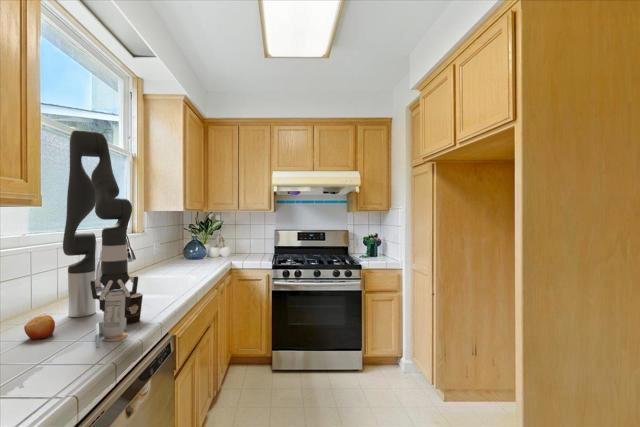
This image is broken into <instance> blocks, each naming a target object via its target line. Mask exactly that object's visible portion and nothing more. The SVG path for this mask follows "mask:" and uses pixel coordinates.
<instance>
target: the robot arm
mask: <svg viewBox="0 0 640 427" xmlns="http://www.w3.org/2000/svg"><path fill="white" fill-rule="evenodd" d="M83 157H86V158H87V157H88V158H89V157H90V158H91V157H92V158H98V159H99V161H98V162H97V164H96V166H95V167H94V169H93V170H92V173H91V176H89V174H88V173H87V172H86V169H85V168H84V166H83V161H82V160H83V159H82V158H83ZM113 171H114V170H113V165H112V159H111V154H110V149H109V143H108V139H107V137H106V136H105V134H104V133H102V132H100V131H91V130H82V129H74V130H72V131H71V133H70V136H69V174H68V175H69V176H68V185H67V196H66V218H65V226H64V233H63V239H62V251H63V253H64V255H65V256H68V257H69V256H71V257H72V256H84V257H83V258H82V259H81V260H79V261H77V262H75V263H72V264H70V265H68V267H67V282H68V283H67V288H68V289H67V290H68V291H67V294H68V295H67V296H68V304H67V305H68V317H70V318H81V317H88V316H91V315H94V314H96V313H97V312H96V311H97V310H96V309H97V301H99V311H101V312H102V313H104V311H105V300H104V299H105V295H106V294H107V292H108V290H114V289H122V290H123V291H124V293H125V294H126V298H125V307H126V308H128V306H130V297H131V296H132V295H134V294H136V293H138V285H139V284H138V283H139V276H138V275H129V271H128V269H129V268H128V261H129V260H128V257H129V254H128V247H127V231H128V228H129V227H128V226H129V222H130V219H131V216H132V213H133V205H132V203H131V201H130V200H129V199H128V198H123V197H120V198H118V196H119V195H120V187H119V186H118V182H117V180H116V177H115V175H114V172H113ZM93 210H94V212H95V215H96V216H97V217H98V219H100V220H103V221H105V220H106V221H108V220H113V221H114V220H117V222H116V223H115V224H114V225H111V226H108V227H104V228H102V231H101V249H100V250H101V251H100V261H101V262H100V263H101V264H100V268H101V269H100V270H101V274H100V277H99V278H96V250H97V238H96V235H95V233H94V232H93V231H84V232H83V231H80V232H79V231H78V232H77V229H78V228H79V226H80V224H81V223H82V222H83V220H85V218H87V217H88V216H89V215H90V213H91V212H92V211H93ZM129 280H130V282H131V283H132V286H131V288H132V289H131V290H128V288H127V286H126V285H127V283H128V281H129ZM99 283H100V284H101V285H102V286H103V288H102V291H101V293H100V294H98V293H97V288H96V287H98V286H99Z"/></svg>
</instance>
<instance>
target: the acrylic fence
mask: <svg viewBox="0 0 640 427" xmlns="http://www.w3.org/2000/svg"><path fill="white" fill-rule="evenodd" d="M95 325H96V326H95V332H96V333H95V334H96V335H95V338H96V339H95V340H96V342H95V343H96V349H97V348H100V335H103V321H97V322H95ZM126 330H127V325H126V318H124V331H126Z"/></svg>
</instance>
